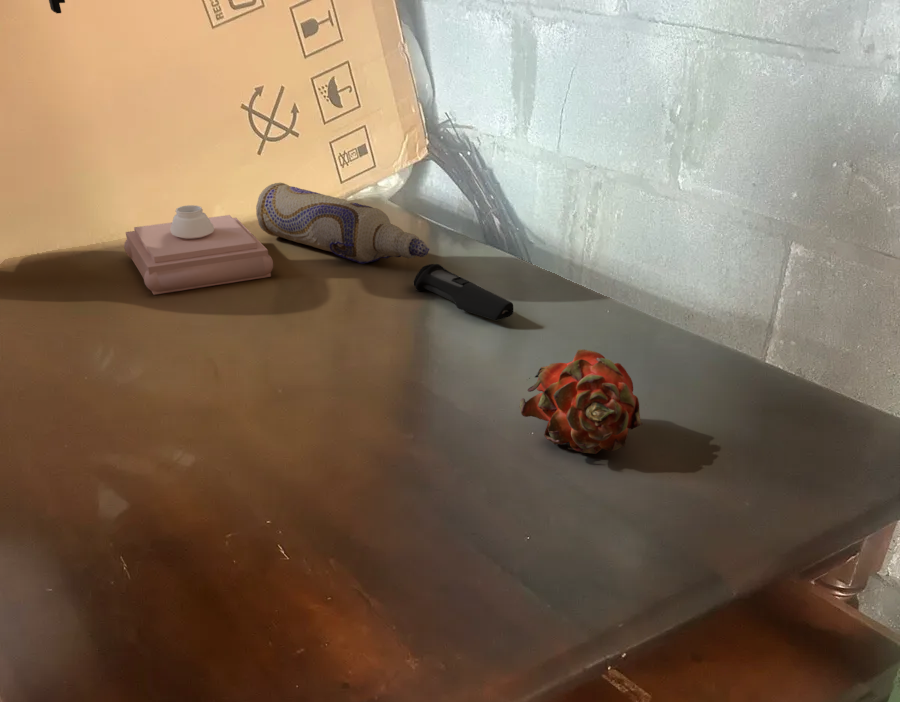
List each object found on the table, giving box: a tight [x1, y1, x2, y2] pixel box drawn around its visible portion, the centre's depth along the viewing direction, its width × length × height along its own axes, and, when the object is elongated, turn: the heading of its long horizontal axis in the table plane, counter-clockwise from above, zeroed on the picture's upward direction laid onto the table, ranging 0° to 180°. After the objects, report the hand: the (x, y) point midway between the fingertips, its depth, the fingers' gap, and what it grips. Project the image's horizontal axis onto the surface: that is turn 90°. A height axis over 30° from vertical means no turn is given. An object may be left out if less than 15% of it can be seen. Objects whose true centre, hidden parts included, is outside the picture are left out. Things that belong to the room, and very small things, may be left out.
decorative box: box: [123, 214, 274, 296], centre depth 111 cm, size 15×15×4 cm
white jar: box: [170, 204, 214, 239], centre depth 109 cm, size 5×3×5 cm
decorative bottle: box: [255, 182, 430, 265], centre depth 114 cm, size 26×8×7 cm, turn 52°
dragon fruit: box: [519, 348, 643, 455], centre depth 76 cm, size 8×8×12 cm
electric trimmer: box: [413, 263, 514, 321], centre depth 101 cm, size 4×16×3 cm, turn 37°
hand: (8, 14), depth 96 cm, fingers open, 9 cm apart
